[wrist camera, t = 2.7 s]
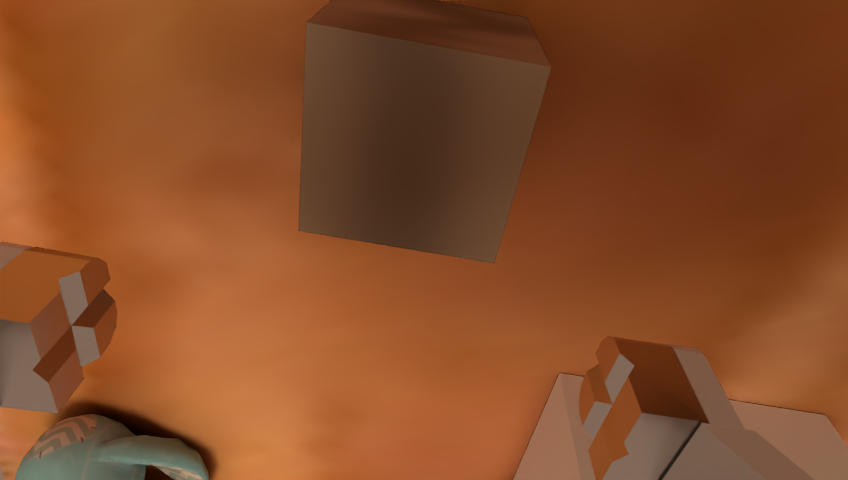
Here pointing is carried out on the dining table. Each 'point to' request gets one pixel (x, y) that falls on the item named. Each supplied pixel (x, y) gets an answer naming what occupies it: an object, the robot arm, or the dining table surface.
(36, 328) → the robot arm
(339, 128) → the walnut block
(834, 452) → the plinth
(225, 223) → the dining table surface
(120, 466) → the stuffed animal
